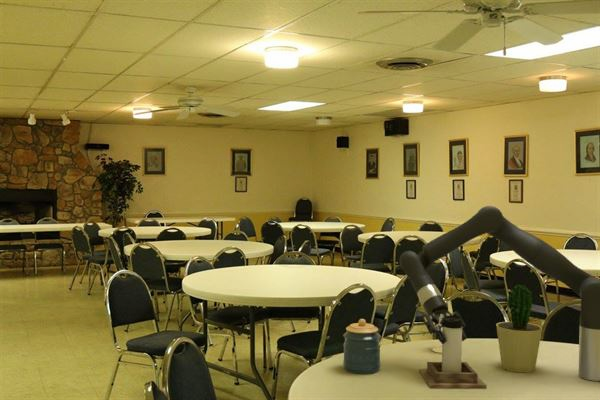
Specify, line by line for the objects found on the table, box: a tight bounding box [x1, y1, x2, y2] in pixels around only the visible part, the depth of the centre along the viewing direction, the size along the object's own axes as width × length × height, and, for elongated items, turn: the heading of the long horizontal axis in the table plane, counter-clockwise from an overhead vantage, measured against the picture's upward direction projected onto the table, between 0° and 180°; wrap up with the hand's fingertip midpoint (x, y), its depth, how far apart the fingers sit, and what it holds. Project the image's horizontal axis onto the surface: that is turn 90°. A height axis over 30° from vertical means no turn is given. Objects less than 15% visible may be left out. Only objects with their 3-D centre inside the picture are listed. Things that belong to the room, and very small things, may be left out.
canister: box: [342, 318, 381, 375], centre depth 221 cm, size 13×13×18 cm
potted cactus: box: [495, 283, 543, 373], centre depth 225 cm, size 15×15×30 cm
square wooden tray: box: [418, 361, 488, 389], centre depth 210 cm, size 18×18×4 cm
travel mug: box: [441, 315, 463, 373], centre depth 210 cm, size 6×7×20 cm
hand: (454, 341), depth 209 cm, fingers open, 8 cm apart
